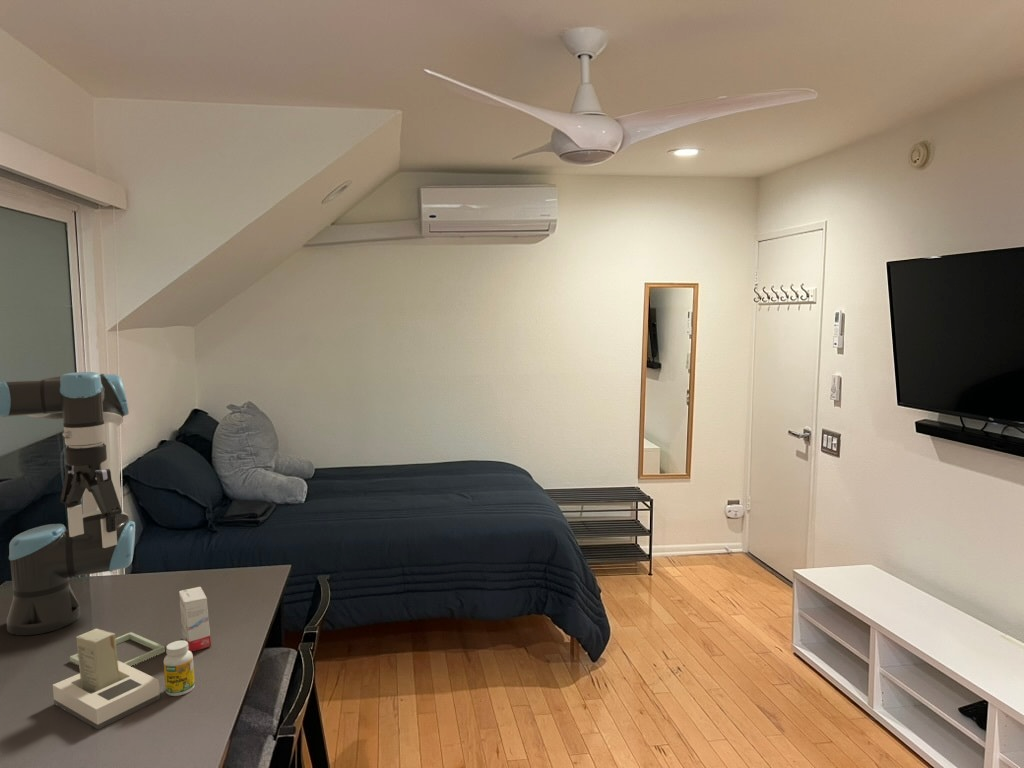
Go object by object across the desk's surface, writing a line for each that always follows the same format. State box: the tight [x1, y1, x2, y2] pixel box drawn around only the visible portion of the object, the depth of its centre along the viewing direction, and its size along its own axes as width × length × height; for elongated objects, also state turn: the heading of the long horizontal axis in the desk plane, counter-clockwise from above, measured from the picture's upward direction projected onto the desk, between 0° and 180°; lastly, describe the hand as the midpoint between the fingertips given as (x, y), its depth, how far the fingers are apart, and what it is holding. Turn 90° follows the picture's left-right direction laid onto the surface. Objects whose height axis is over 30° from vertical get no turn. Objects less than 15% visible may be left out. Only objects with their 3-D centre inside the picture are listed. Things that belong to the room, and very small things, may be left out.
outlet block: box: [52, 660, 161, 731], centre depth 140 cm, size 16×12×4 cm
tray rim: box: [69, 631, 166, 667], centre depth 158 cm, size 14×14×1 cm
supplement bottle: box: [163, 639, 196, 697], centre depth 144 cm, size 5×5×10 cm
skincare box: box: [75, 627, 120, 694], centre depth 140 cm, size 6×4×12 cm
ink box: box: [178, 586, 212, 653], centre depth 163 cm, size 9×5×12 cm, turn 33°
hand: (93, 540), depth 154 cm, fingers open, 13 cm apart
